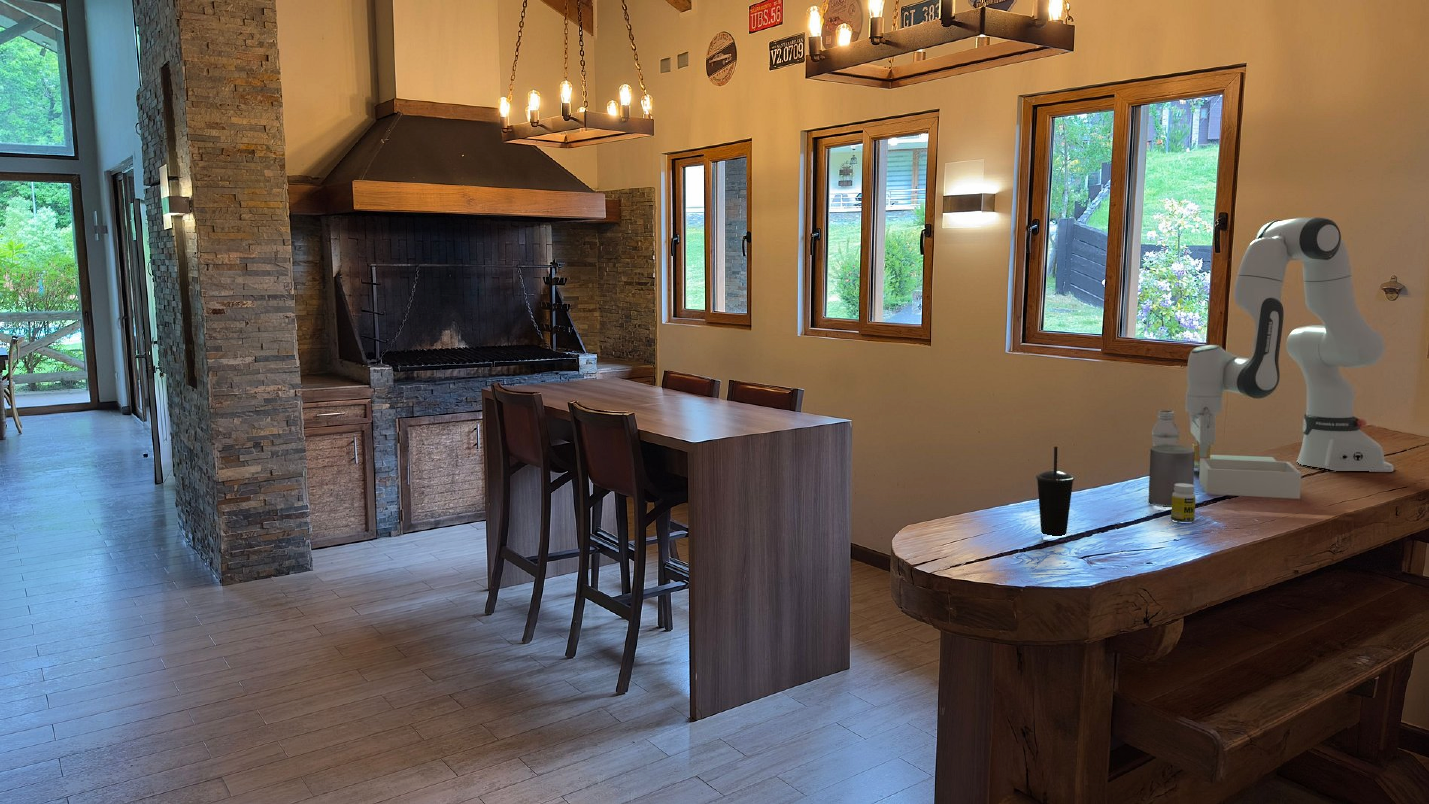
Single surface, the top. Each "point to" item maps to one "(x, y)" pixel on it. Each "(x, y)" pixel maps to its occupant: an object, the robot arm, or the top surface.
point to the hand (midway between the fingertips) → (1201, 455)
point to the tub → (1250, 478)
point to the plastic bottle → (1165, 429)
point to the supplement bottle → (1183, 503)
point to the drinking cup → (1054, 499)
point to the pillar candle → (1169, 471)
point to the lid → (1224, 457)
